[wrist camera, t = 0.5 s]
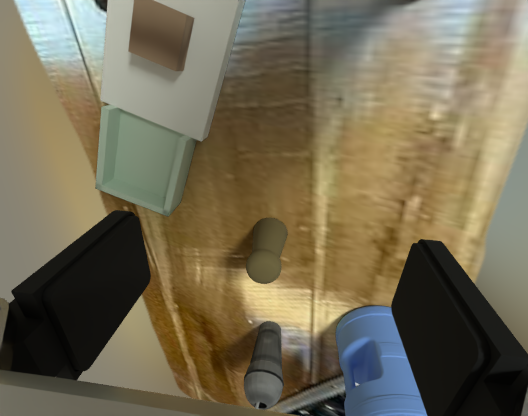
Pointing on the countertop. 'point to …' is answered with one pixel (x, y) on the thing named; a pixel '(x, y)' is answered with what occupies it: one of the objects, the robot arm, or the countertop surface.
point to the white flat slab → (164, 79)
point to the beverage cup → (265, 368)
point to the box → (142, 160)
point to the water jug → (376, 365)
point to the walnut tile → (160, 34)
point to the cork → (266, 250)
